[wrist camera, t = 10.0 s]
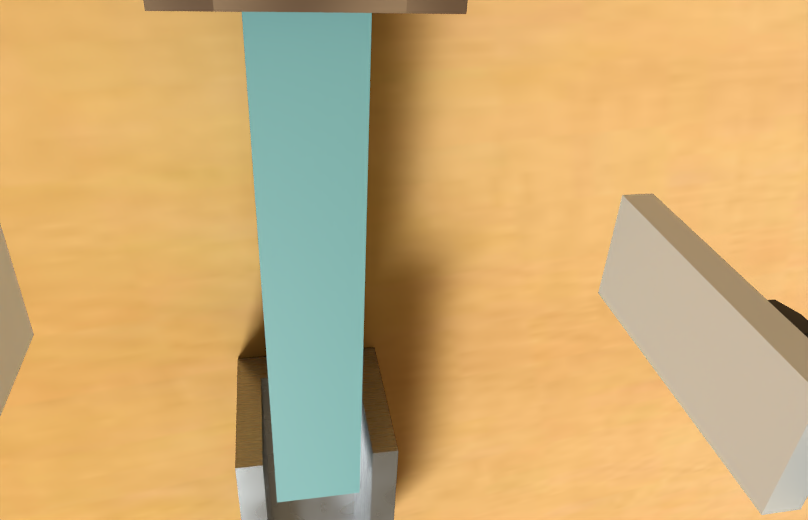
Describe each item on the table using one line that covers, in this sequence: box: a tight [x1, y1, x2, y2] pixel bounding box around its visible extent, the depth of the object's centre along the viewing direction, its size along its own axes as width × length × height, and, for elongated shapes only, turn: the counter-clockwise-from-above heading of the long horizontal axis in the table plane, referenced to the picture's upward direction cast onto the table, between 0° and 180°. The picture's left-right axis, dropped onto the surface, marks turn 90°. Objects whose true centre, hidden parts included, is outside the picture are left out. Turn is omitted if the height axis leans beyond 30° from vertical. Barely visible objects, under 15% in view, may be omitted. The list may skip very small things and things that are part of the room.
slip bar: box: [242, 12, 372, 502], centre depth 29 cm, size 4×26×5 cm, turn 177°
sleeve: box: [235, 348, 398, 520], centre depth 39 cm, size 7×16×8 cm, turn 177°
